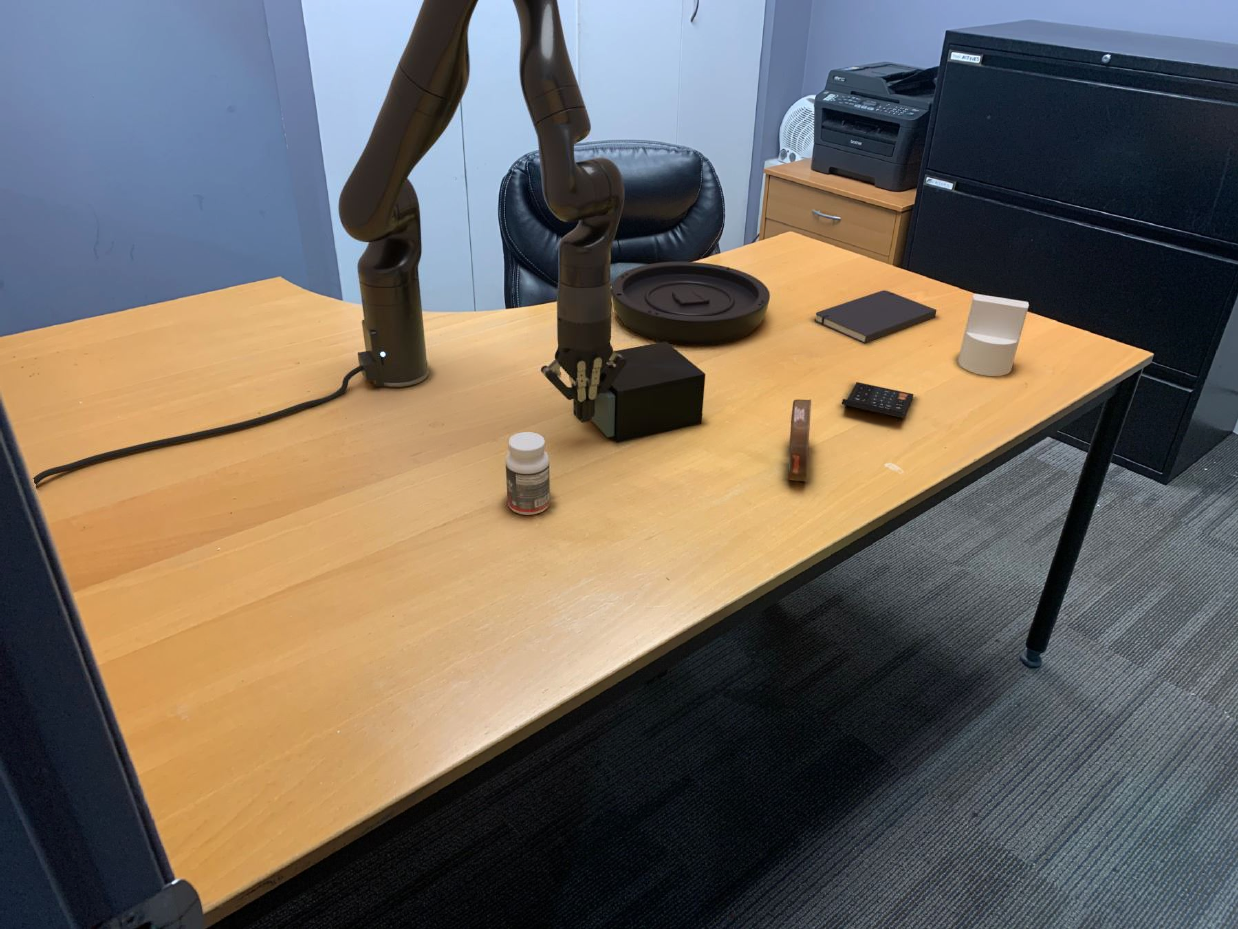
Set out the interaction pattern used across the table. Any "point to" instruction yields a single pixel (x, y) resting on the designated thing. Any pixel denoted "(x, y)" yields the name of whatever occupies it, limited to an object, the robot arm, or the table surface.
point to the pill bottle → (527, 474)
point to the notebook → (874, 315)
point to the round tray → (689, 302)
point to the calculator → (879, 399)
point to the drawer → (605, 412)
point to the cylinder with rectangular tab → (992, 335)
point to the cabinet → (656, 392)
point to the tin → (799, 440)
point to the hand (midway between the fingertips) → (583, 419)
